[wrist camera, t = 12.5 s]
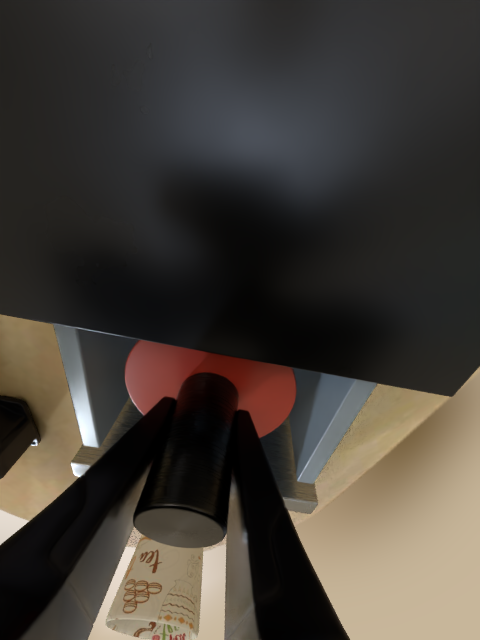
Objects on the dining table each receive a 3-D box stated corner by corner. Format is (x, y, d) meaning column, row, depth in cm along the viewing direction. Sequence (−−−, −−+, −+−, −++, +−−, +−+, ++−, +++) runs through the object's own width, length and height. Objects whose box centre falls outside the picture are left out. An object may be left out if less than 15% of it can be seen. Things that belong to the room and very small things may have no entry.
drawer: (278, 441, 22) (285, 549, 15) (137, 417, 21) (86, 518, 15) (371, 223, 12) (487, 272, 6) (124, 172, 12) (-25, 169, 6)
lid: (133, 421, 12) (64, 558, 8) (125, 294, 9) (-11, 416, 4) (272, 444, 12) (279, 590, 8) (318, 330, 9) (377, 481, 5)
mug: (206, 485, 28) (183, 622, 19) (226, 533, 34) (215, 653, 26) (138, 485, 29) (88, 616, 21) (169, 532, 35) (140, 646, 27)
